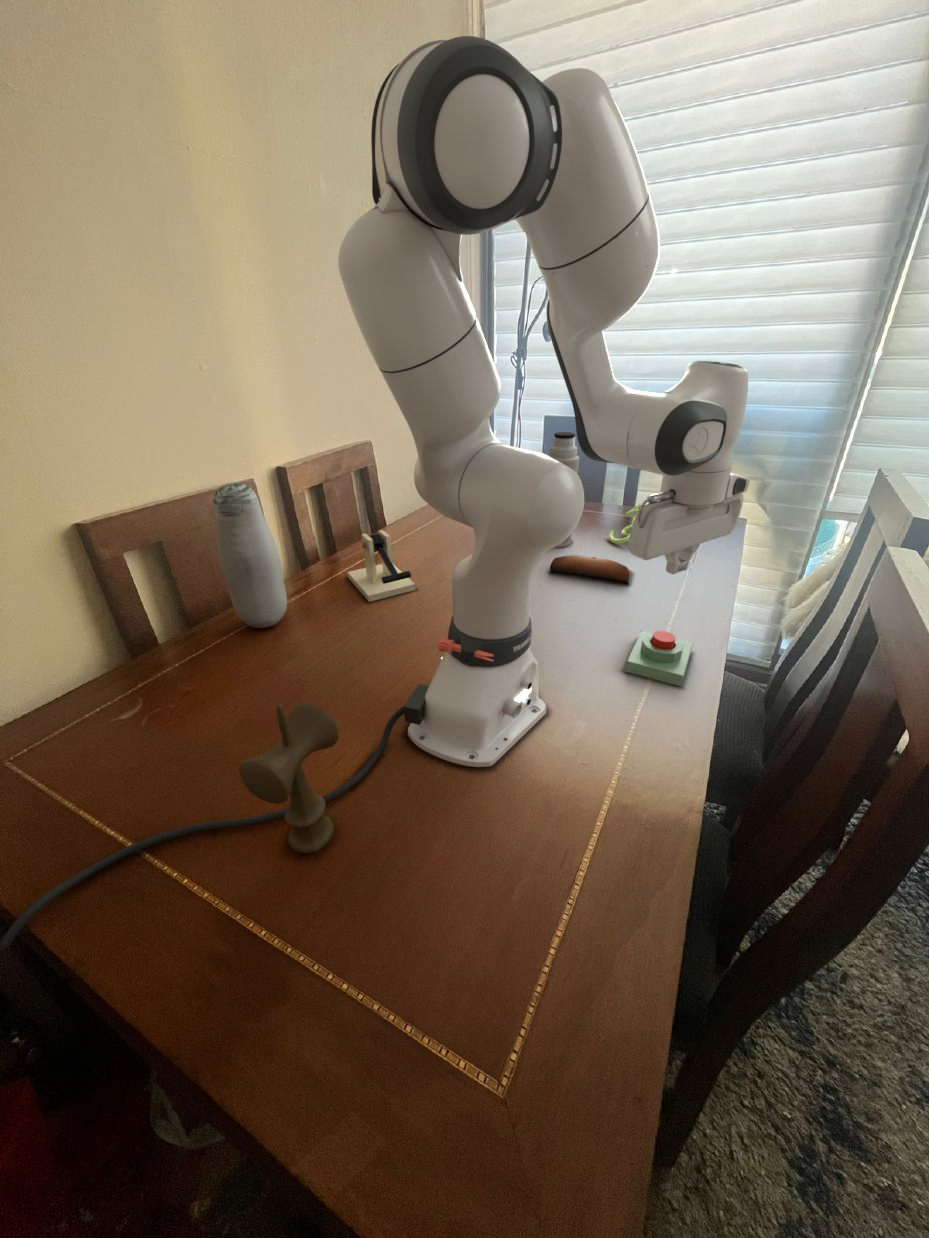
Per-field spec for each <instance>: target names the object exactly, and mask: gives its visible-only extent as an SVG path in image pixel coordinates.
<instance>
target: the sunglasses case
mask: <svg viewBox="0 0 929 1238" xmlns="http://www.w3.org/2000/svg"><path fill="white" fill-rule="evenodd" d="M549 572H550V573H552V572H553V573H554V572H555V573H565V574H579V575H583V576H589V577H597V578H601V579H608V580H614V581H621V582H626V583H627V584H628V585H629V584H630V581H631V577H632V570H631V569H629V568H628V567H627V566H626V565H624V564H622V563H619V562H618V561H615V560H612V559H609V558H608V559H606V558H598V557H594V556H584V555H579V554H578V555H577V554H574V555H573V554H572V555H571V554H570V555H561V556H558V557H557V556H556V557H554V558H553V560H552V561H551V563H550V567H549Z"/></svg>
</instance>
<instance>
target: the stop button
mask: <svg viewBox="0 0 929 1238" xmlns="http://www.w3.org/2000/svg"><path fill="white" fill-rule="evenodd" d="M653 633H654V634H653V638H652V642H651V643H652V645H653V646H654V647H656V648H658V649H662V650H671V649H673V647H674V643H675V639H676V638H677V637H676V636H675V635H674V634H673V633H671V632H670V631H666V630H656V631H654V632H653ZM675 637H676V638H675Z"/></svg>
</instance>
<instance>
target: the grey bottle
mask: <svg viewBox="0 0 929 1238" xmlns="http://www.w3.org/2000/svg"><path fill="white" fill-rule="evenodd" d="M212 504H213V510H214V517H215V524H216V545H217V554H218V558H219V563H220V567H221V570H222V574H223V577H224V581H225V583H226V586H227V590H228V594H229V597H230V600H231V603H232V606H233V609H234V611H235V614H236V615H237V617H238V619H240V621H241V622H243V623H245V624H246V625H248V626H249V627H252V628H255V629H265V628H270V627H273V626H274V625H276V624H277V623H279V622H280V621H281V620H282V619H283V617H284V616H285V614H286V611H287V608H288V598H287V591H286V590H287V589H286V585H285V581H284V580H285V579H284V576H283V571H282V570H283V569H282V565H281V561H280V554H279V550H278V547H277V543H276V540H275V538H274V536H273V533H272V531H271V529H270V527H269V525H268V523H267V521H266V518H265V516H264V512H263V510H262V507H261V504H260V501H259V498H258V496H257V494H256V493H255V491H254V490H253V489H252V488H251V487H250V486H248V485H247V484H244V483H240V482H232V483H227V484H223V485H222V486H220V487H219V488H217V490H216V491H215V493H214V495H213V503H212Z"/></svg>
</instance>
